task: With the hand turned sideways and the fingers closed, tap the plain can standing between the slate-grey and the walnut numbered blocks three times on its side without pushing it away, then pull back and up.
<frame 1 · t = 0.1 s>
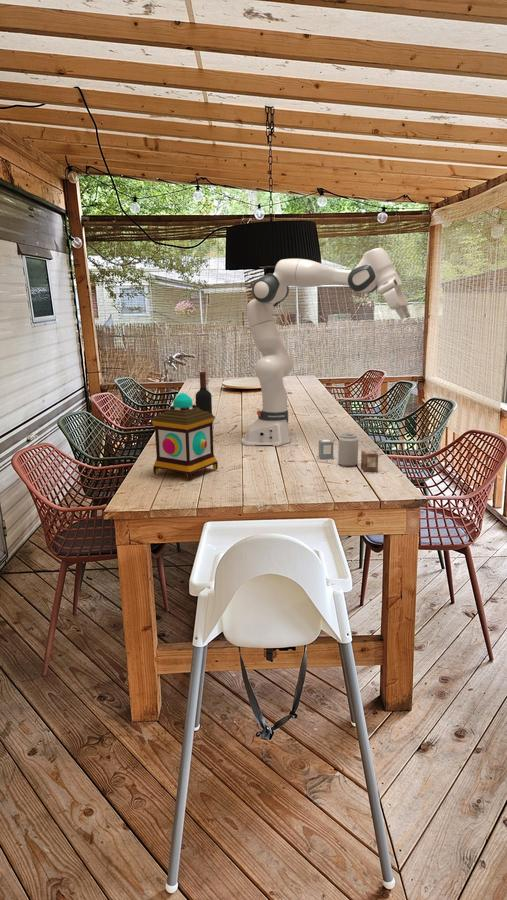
hand: (406, 318, 228), 54 cm above the table, tool tilted 30°, fingers open, 8 cm apart
slate block: (325, 457, 235), on the table
candlestick: (207, 422, 308), on the table
wine bottle: (204, 435, 279), on the table
walnut block: (369, 470, 217), on the table
decorative lantern: (186, 472, 218), on the table
can: (347, 465, 225), on the table
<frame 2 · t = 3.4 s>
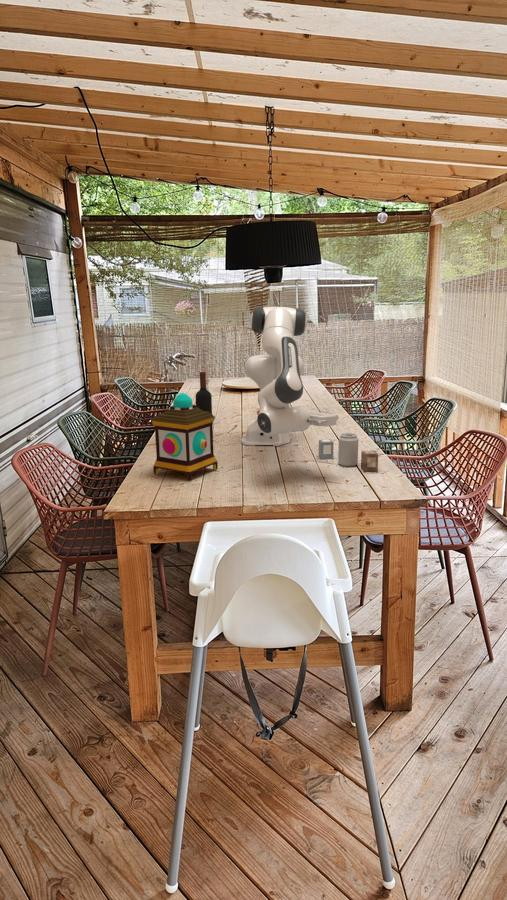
hand: (327, 415, 214), 21 cm above the table, tool horizontal, fingers open, 8 cm apart
nothing on the table moved.
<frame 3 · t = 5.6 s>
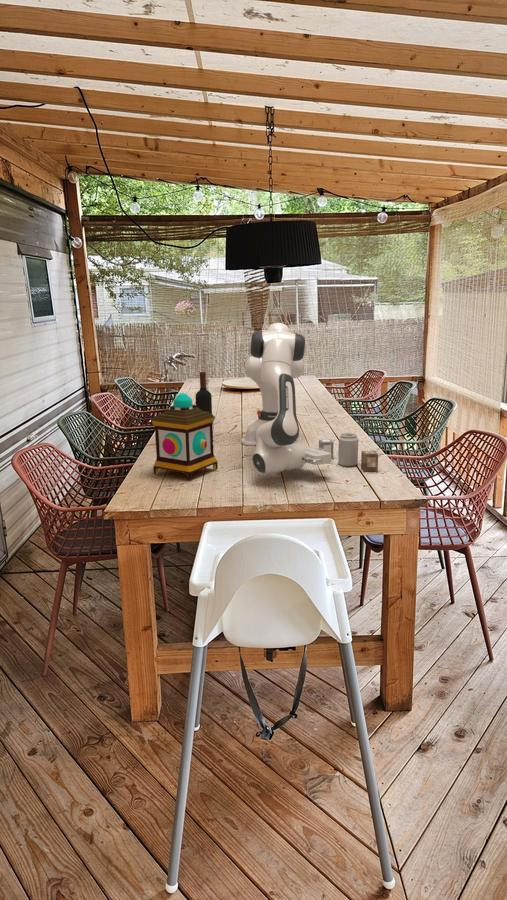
hand: (324, 450, 216), 8 cm above the table, tool horizontal, fingers closed
nothing on the table moved.
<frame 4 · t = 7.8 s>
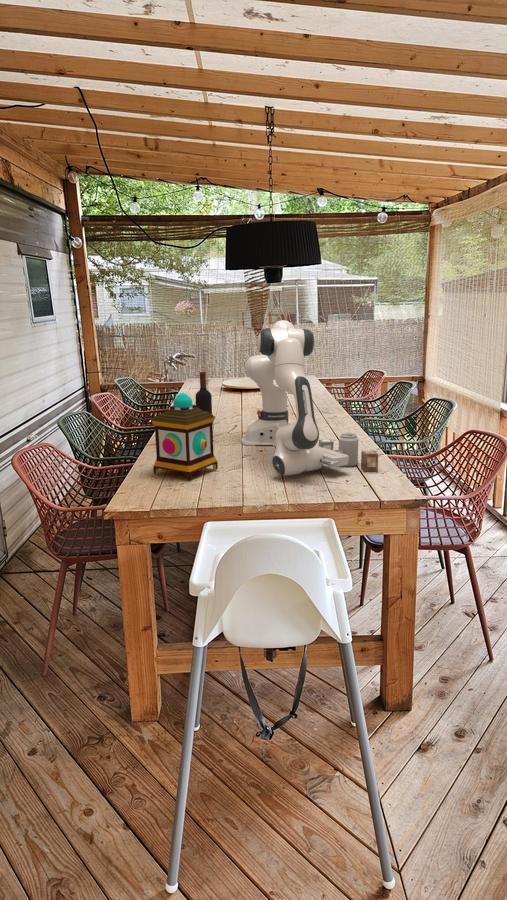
hand: (340, 452, 222), 5 cm above the table, tool horizontal, fingers closed, pressing on can
can: (347, 465, 225), on the table, touching gripper
everything else where it was.
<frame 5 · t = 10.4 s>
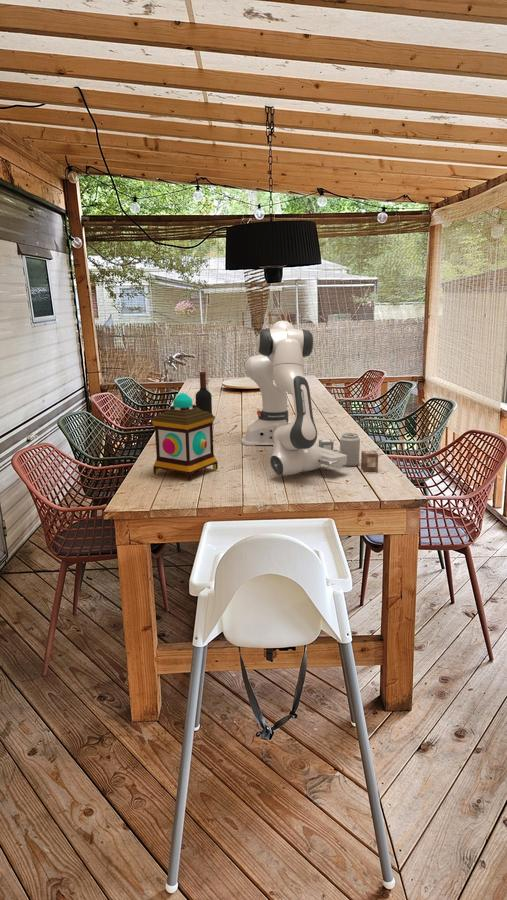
hand: (339, 452, 221), 6 cm above the table, tool horizontal, fingers closed
can: (349, 464, 225), on the table
everything else where it was.
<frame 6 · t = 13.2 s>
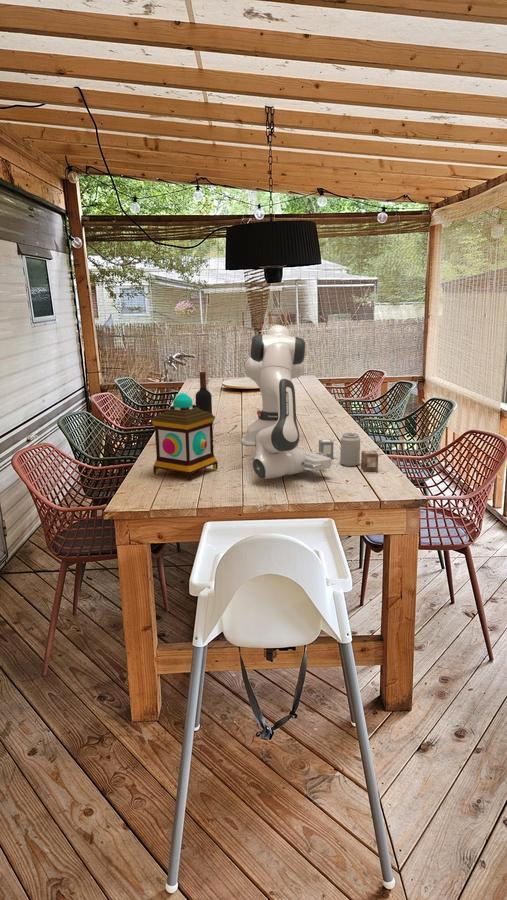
hand: (324, 455, 217), 6 cm above the table, tool horizontal, fingers closed
nothing on the table moved.
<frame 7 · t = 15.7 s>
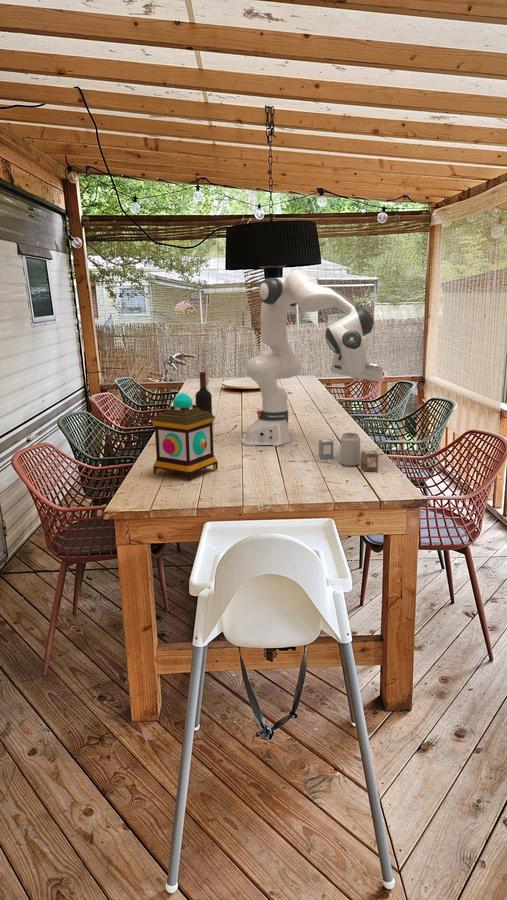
hand: (357, 379, 233), 31 cm above the table, tool tilted 55°, fingers closed
nothing on the table moved.
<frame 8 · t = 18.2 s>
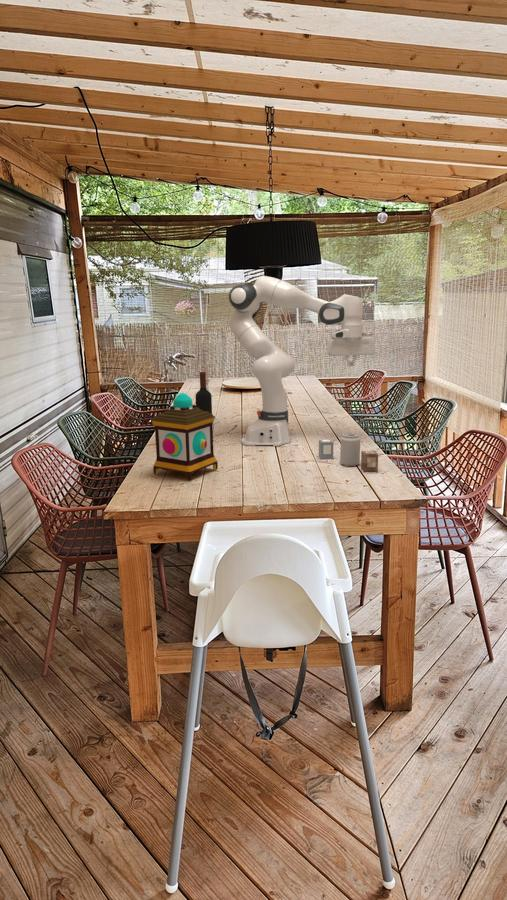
hand: (350, 365, 250), 34 cm above the table, tool pointing down, fingers closed
nothing on the table moved.
at the end: can moved 0.9 cm from its start; can tilted 0°; slate block moved 0.1 cm from its start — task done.
